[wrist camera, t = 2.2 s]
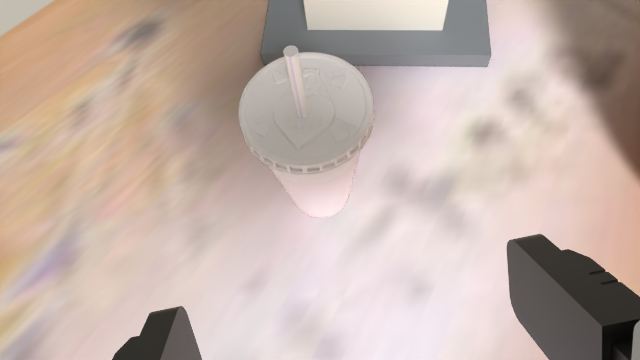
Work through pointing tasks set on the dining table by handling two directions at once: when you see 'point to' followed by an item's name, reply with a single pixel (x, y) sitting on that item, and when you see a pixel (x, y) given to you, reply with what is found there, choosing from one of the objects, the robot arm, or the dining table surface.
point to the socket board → (381, 31)
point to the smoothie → (309, 126)
